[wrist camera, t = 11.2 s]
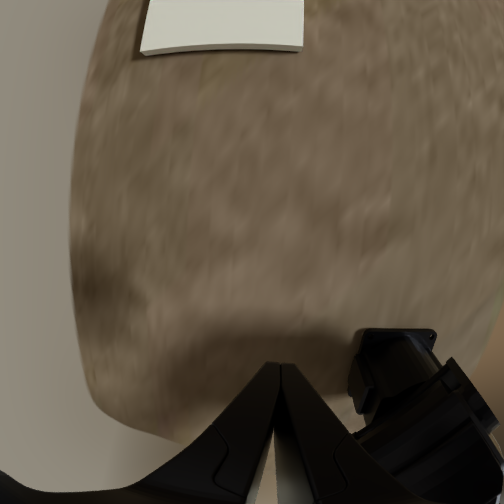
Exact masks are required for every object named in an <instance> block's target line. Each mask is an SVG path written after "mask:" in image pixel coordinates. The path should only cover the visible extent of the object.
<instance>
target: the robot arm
mask: <svg viewBox="0 0 504 504" xmlns="http://www.w3.org/2000/svg"><path fill="white" fill-rule="evenodd" d="M370 334H373V335H372V336H371V337H368V335H370ZM430 335H432V336H431V337H430ZM436 338H437V333H436V332H435V331H434V330H433V329H368V330H366V331H365V332H364V334H363V337H362V341H361V345H360V349H359V353H358V354H356V355H355V356H354V360H353V363H352V367H351V370H350V374H349V377H348V383H349V387H348V390H347V392H348V395H349V396H350V397H352V398H353V402H354V406H355V410H356V413H357V414H358V415H363V416H364V420H365V424H366V427H364V428H363V429H361V430H360V431H358V432H354V433H353V434H351V433H349V431H348V430H347V429H346V427H345V426H344V425H343V424H342V422H341V421H340V420H339V419H338V418H337V416H336V415H335V414H334V413H333V411H332V410H331V409H330V408H329V406H328V405H327V404H326V403H325V401H324V400H323V399H322V398H321V396H320V395H319V394H318V393H317V391H316V390H315V389H314V388H313V386H312V385H311V384H310V383H309V381H308V380H307V379H306V378H305V376H304V375H303V374H302V372H301V371H300V370H299V369H298V367H297V366H296V365H295V364H293V363H281V364H280V363H278V362H266V363H265V364H264V365H263V366H262V367H261V368H260V370H259V371H258V372H257V373H256V374H255V375H254V377H253V378H252V379H251V380H250V381H249V382H248V384H247V385H246V386H245V387H244V388H243V389H242V390H241V392H240V393H239V394H238V395H237V396H236V397H235V398H234V399H233V401H232V402H231V403H230V404H229V405H228V406H227V407H226V408H225V409H224V410H223V412H222V413H221V414H220V415H219V416H218V417H217V418H216V419H215V420H214V421H213V422H212V425H209V426H208V428H207V429H206V430H205V431H204V432H203V433H202V434H201V435H200V436H199V437H198V438H197V439H195V440H194V441H193V442H192V443H191V444H190V445H189V446H188V447H186V448H185V449H184V450H182V452H180V453H179V454H177V455H176V456H175V457H173V458H172V459H171V460H169V461H168V462H166V463H165V464H163V465H162V466H161V467H159V468H158V469H156V470H155V471H153V472H152V473H150V474H149V475H147V476H146V477H145V478H143V479H141V480H140V481H138V482H136V483H134V484H132V485H129V486H127V487H123V488H120V489H111V490H100V491H87V492H44V491H39V490H35V489H32V488H29V487H26V486H24V485H22V484H21V483H19V482H17V481H16V480H14V479H13V478H12V477H10V476H9V475H7V474H6V473H4V472H2V471H1V470H0V504H255V501H256V497H257V493H258V490H259V486H260V482H261V479H262V475H263V471H264V467H265V463H266V460H267V456H268V452H269V448H270V443H271V439H272V435H273V429H274V448H275V464H276V480H277V497H278V504H500V502H499V501H500V495H501V492H502V485H503V475H504V459H503V456H502V453H501V450H500V447H499V445H498V443H497V441H496V440H495V438H494V437H493V435H492V434H491V432H492V431H494V430H495V429H496V428H497V427H498V426H499V425H500V423H499V421H498V420H497V418H496V417H495V415H494V414H493V412H492V411H491V410H490V408H489V406H488V405H487V404H486V402H485V401H484V399H483V398H482V397H481V395H480V394H479V392H478V391H477V389H476V388H475V387H474V385H473V384H472V383H471V381H470V380H469V378H468V377H467V376H466V374H465V373H464V372H463V371H462V369H461V368H460V367H459V365H458V364H457V363H456V361H455V360H454V359H453V358H452V357H451V358H450V359H449V360H447V361H446V364H445V365H444V366H442V365H441V363H440V362H439V361H438V359H437V358H436V356H435V355H434V354H433V352H432V349H433V346H434V343H435V340H436Z"/></svg>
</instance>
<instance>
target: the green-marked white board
mask: <svg viewBox="0 0 504 504" xmlns="http://www.w3.org/2000/svg"><path fill="white" fill-rule="evenodd" d="M303 23H304V0H150V3H149V8H148V12H147V17H146V22H145V27H144V32H143V37H142V43H141V48H140V52H141V53H143V54H144V55H145V56H149V55H156V54H164V53H173V52H184V51H197V50H216V49H264V50H283V51H296V52H302V49H303Z"/></svg>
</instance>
